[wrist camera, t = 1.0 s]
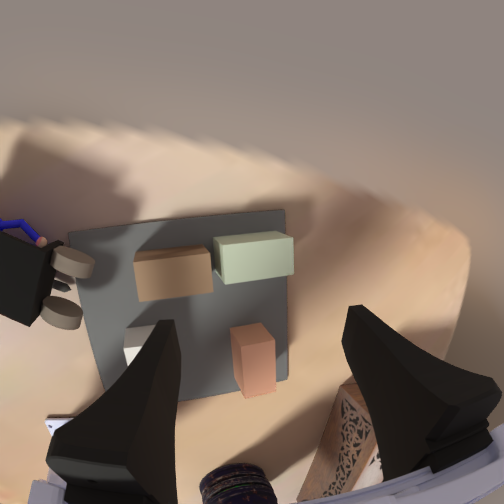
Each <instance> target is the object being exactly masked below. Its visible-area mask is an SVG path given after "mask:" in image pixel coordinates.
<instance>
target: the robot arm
mask: <svg viewBox="0 0 504 504" xmlns="http://www.w3.org/2000/svg"><path fill="white" fill-rule="evenodd" d="M341 342H342V346H343V349H344V353H345V356H346V359H347V362H348V364H349V367H350V369H351V371H352V374H353V376H354V378H355V380H356V382H357V385H358V387H359V389H360V391H361V394H362V396H363V398H364V400H365V403H366V406H367V408H368V411H369V415H370V418H371V422H372V425H373V429H374V433H375V437H376V441H377V445H378V450H379V455H380V460H381V466H382V473H383V480H384V482H382V483H379V484H376V485H373V486H369V487H366V488H362V489H358V490H355V491H351V492H347V493H343V494H338V495H334V496H329V497H325V498H320V499H315V500H309V501H303V502H297V503H291V504H474V503H475V502H477V501H479V500H480V499H482V498H484V497H485V496H487V495H488V494H490V493H491V492H493V491H494V490H496V489H498V488H499V487H500V486H502V485H503V484H504V423H503V424H501V425H500V426H498V427H496V428H495V429H493V430H492V431H491V432H490V433H489V432H488V430H487V427H488V426H489V423H488V421H487V419H486V418H487V417H488V416H489V414H490V413H491V412H492V411H493V410H494V408H495V407H496V406H497V404H498V402H499V401H500V399H501V396H502V391H501V390H500V388H499V387H498V386H497V384H496V383H495V381H494V380H493V379H492V378H490V377H487V376H483V375H479V374H476V373H472V372H469V371H466V370H464V369H461V368H458V367H455V366H453V365H451V364H449V363H446V362H444V361H442V360H440V359H438V358H436V357H434V356H432V355H431V354H429V353H427V352H426V351H424V350H422V349H420V348H419V347H417V346H416V345H414V344H413V343H411V342H410V341H408V340H407V339H405V338H404V337H403V336H401V335H400V334H399V333H397V332H396V331H395V330H393V329H392V328H391V327H390V326H388V325H387V324H386V323H384V322H383V321H382V320H381V319H380V318H378V317H377V316H376V315H375V314H373V313H372V312H371V311H370V310H368V309H367V308H366V307H364V306H363V305H355V306H349V308H348V313H347V318H346V323H345V327H344V332H343V336H342V341H341ZM180 381H181V350H180V346H179V341H178V336H177V331H176V327H175V322H174V319H167V320H159V321H158V322H157V323H156V325H155V327H154V328H153V330H152V332H151V333H150V335H149V337H148V338H147V340H146V341H145V343H144V345H143V346H142V348H141V349H140V351H139V352H138V353H137V355H136V356H135V358H134V359H133V360H132V362H131V363H130V364H129V366H128V367H127V368H126V370H125V371H124V372H123V373H122V375H121V376H120V377H119V378H118V379H117V380H116V382H115V383H114V384H113V385H112V386H111V387H110V388H109V389H108V390H107V391H106V392H105V393H104V394H103V395H102V396H101V397H100V398H99V399H98V400H96V401H95V402H94V403H93V404H92V405H91V406H89V407H88V408H87V409H86V410H84V411H83V412H82V413H80V414H79V415H78V416H76V417H75V418H46V419H45V424H46V426H47V428H48V430H49V431H50V433H51V435H52V438H51V442H50V445H49V449H48V453H47V456H46V463H47V465H48V466H49V471H48V476H47V481H45V480H43V479H40V480H38V481H37V480H33V481H32V486H31V490H30V494H29V499H28V504H178V500H177V488H176V472H175V420H176V412H177V404H178V396H179V389H180ZM50 425H51V426H50Z"/></svg>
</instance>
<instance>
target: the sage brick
mask: <svg viewBox="0 0 504 504" xmlns="http://www.w3.org/2000/svg"><path fill="white" fill-rule="evenodd" d="M213 247H214V260H215V272H216V273H217V274H218V276H219V277H220V278H221V280H222V281H223V282H224V284H225V285H226V284H233V283H240V282H247V281H254V280H260V279H267V278H274V277H280V276H287V275H293V274H294V246H293V237H291V236H288V235H286V234H283V233H280V232H278V231H267V232H258V233H248V234H238V235H229V236H220V237H213Z"/></svg>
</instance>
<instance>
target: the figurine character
mask: <svg viewBox="0 0 504 504" xmlns="http://www.w3.org/2000/svg"><path fill="white" fill-rule="evenodd" d="M19 227H20V228H21V229H22V230H23V231H24V232H25V233H26V234H27V235H28V236H29V237H30V238H31V239H32V240H33V241H34V242H35V243H36V245H33V244H31V243H28V242H25V241H23V240H21V239H18V238H16V237H14V236H12V235H9V234H7V233H5V232H3V229H9V228H19ZM63 245H64V242H62V241H59V240H57V241H55V242H53V243H51V244H48V245H47V240H46V238H44V237H40V236H39V235H38V234H37V233H36V232H35V231H34V230H33V229H32V228H31V227H30V226H29V225H28V224H27V223H26V222H25V221H24V219H19V220H9V221H2V219H1V218H0V314H1V315H3V316H6V317H8V318H10V319H12V320H15V321H17V322H19V323H21V324H24V325H26V326H28V327H30V326H31V324H32V323H33V322H34V321H35V320H36V318H37V317H38V316H39V315H41V317H42V318H43V320H45V321H46V322H47V323H49V324H50V325H52V326H55V327H57V328H61V329H65V330H75V329H78V328H79V327H80V324H81V320H82V316H83V310H82V309H81V308H80V307H79V306H78V305H77V304H75V303H74V302H72V301H70V300H67V299H64V298H61V297H57V296H50V294H51V290H52V288H54V289H56V290H59V291H62V292H67V291H69V290H71V289H70V287H69V286H68V284H66V283H63V282H60V281H57V280H54V278H55V274H56V270H58V271H60V272H62V273H64V274H66V275H69V276H73V277H77V278H90V277H91V274H92V271H93V268H94V265H95V260H94V259H93V258H92V257H90V256H89V255H87V254H85V253H83V252H81V251H78V250H76V249H73V248H69V247H65V246H63Z"/></svg>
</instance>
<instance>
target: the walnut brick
mask: <svg viewBox="0 0 504 504" xmlns="http://www.w3.org/2000/svg"><path fill="white" fill-rule="evenodd" d="M133 265H134V272H135V279H136V285H137V292H138V298H139V302H143V301H151V300H159V299H167V298H175V297H182V296H190V295H197V294H204V293H211V292H214V291H213V280H212V269H211V257H210V252H209V251H208V250H207V249H206V248H205V247H204V245H203V244H197V245H189V246H180V247H171V248H163V249H154V250H146V251H137V252H135V256H134V261H133Z"/></svg>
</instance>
